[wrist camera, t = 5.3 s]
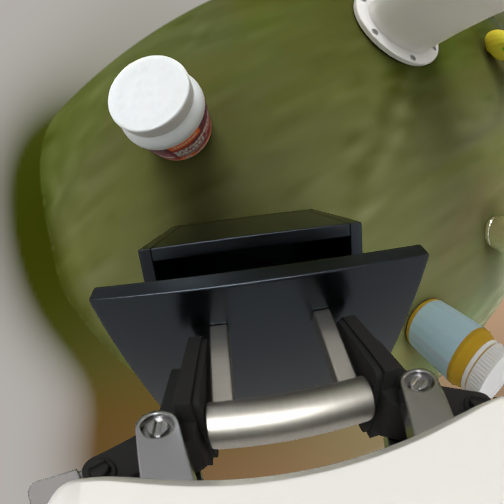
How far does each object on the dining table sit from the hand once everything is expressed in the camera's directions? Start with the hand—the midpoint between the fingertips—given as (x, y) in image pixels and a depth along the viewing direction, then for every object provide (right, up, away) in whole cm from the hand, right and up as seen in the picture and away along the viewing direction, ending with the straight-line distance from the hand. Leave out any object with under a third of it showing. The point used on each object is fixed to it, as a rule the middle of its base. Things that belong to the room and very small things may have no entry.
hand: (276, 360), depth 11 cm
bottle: (+22, -5, +21) cm, 30 cm away
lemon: (+39, +39, +12) cm, 56 cm away
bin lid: (0, -3, +4) cm, 5 cm away
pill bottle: (-8, +16, +14) cm, 22 cm away
